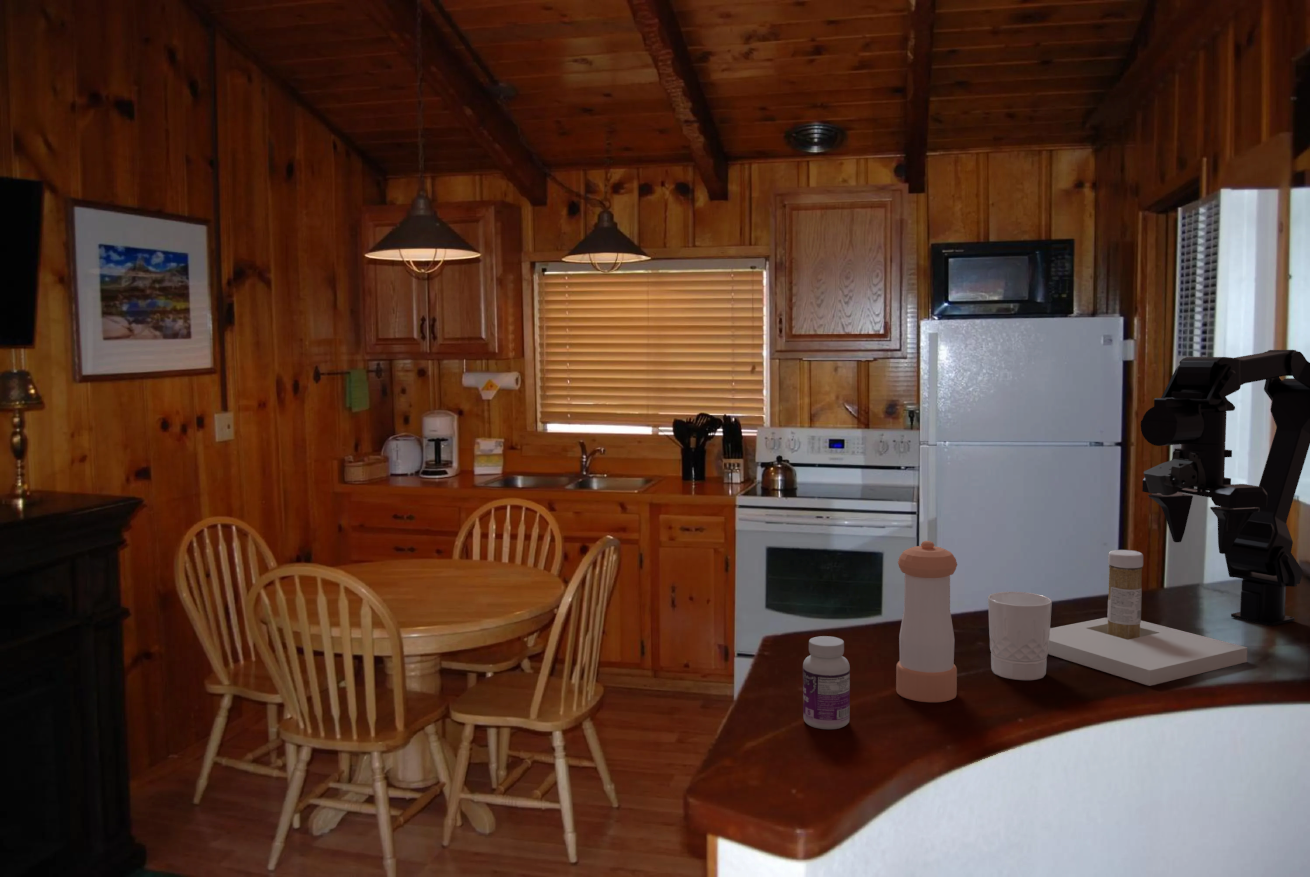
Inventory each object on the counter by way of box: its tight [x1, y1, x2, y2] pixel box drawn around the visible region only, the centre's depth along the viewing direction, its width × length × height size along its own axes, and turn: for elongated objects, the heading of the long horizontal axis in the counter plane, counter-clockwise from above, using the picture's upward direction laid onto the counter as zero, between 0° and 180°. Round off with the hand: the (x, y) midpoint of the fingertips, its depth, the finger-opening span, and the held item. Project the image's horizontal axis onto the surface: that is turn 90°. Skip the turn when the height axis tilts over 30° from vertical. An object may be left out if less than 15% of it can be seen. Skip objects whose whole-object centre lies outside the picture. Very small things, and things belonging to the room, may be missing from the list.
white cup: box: [987, 591, 1053, 681], centre depth 135 cm, size 8×8×10 cm
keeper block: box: [1048, 617, 1248, 686], centre depth 142 cm, size 20×20×2 cm
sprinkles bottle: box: [1107, 549, 1144, 640], centre depth 147 cm, size 5×5×14 cm
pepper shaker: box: [895, 540, 958, 703], centre depth 127 cm, size 7×7×19 cm
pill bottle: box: [802, 635, 851, 730], centre depth 117 cm, size 5×5×10 cm
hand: (1199, 547), depth 151 cm, fingers open, 9 cm apart
